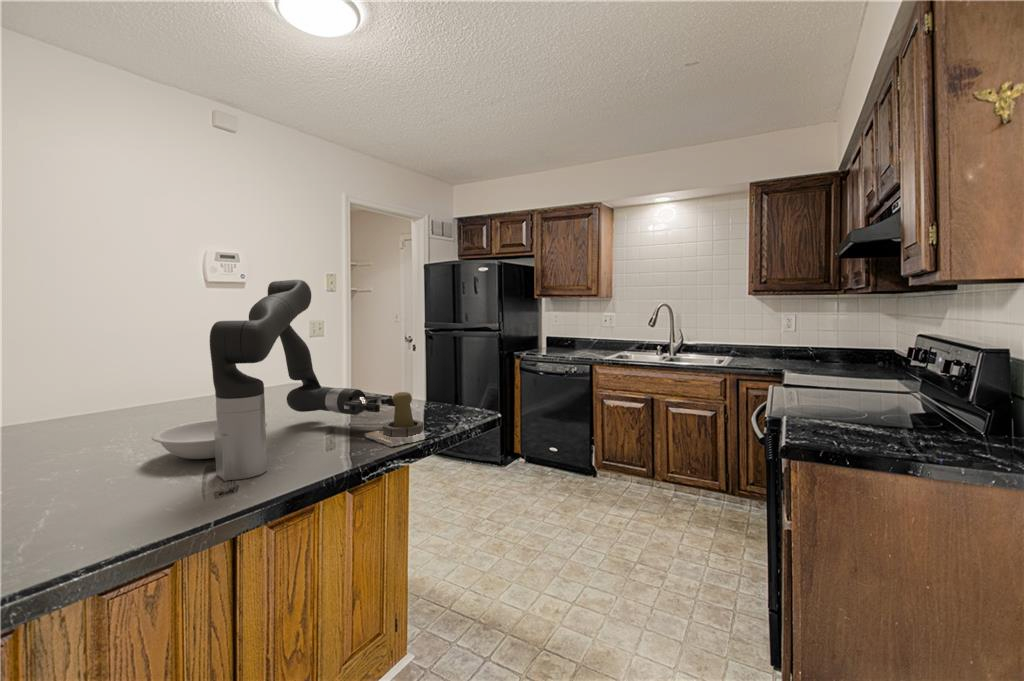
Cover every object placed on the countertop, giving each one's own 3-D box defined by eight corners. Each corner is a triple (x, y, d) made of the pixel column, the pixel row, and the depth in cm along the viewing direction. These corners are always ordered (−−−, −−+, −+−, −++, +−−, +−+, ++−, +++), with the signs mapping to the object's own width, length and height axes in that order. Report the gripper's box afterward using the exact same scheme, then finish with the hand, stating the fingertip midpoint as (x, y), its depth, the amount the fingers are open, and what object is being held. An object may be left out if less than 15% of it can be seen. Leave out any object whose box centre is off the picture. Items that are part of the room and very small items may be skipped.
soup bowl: (217, 474, 107) (215, 444, 106) (125, 467, 112) (124, 439, 111) (288, 444, 130) (287, 419, 130) (210, 439, 135) (209, 415, 135)
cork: (410, 434, 134) (408, 394, 133) (389, 434, 135) (387, 394, 134) (417, 428, 140) (416, 390, 139) (397, 428, 141) (395, 390, 140)
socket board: (391, 447, 127) (391, 433, 126) (364, 437, 136) (364, 424, 136) (442, 436, 138) (441, 423, 138) (413, 427, 148) (413, 415, 147)
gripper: (326, 392, 139) (371, 396, 132) (362, 384, 152) (404, 388, 145) (327, 418, 139) (372, 424, 132) (362, 408, 152) (405, 413, 145)
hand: (389, 405), depth 139 cm, fingers open, 8 cm apart
